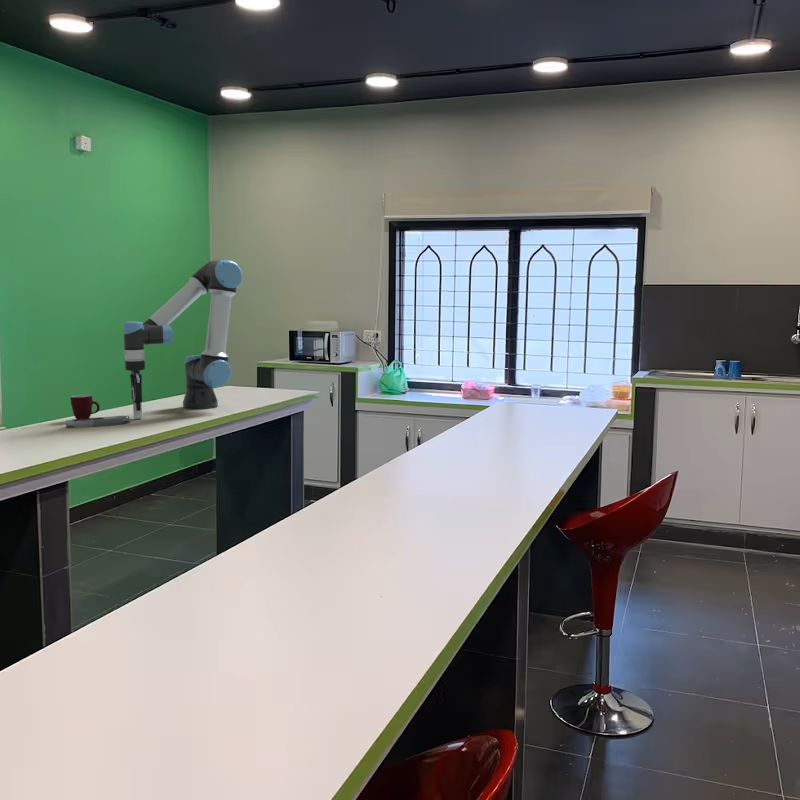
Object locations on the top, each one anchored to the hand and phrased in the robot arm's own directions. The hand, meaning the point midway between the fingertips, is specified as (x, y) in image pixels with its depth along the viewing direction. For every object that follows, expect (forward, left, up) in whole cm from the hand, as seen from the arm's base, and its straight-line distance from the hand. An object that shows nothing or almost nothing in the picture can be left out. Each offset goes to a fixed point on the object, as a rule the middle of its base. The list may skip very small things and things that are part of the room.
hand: (137, 417), depth 320 cm
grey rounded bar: (+16, +7, -1) cm, 17 cm away
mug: (+19, -7, -1) cm, 20 cm away
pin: (0, 0, -1) cm, 1 cm away
